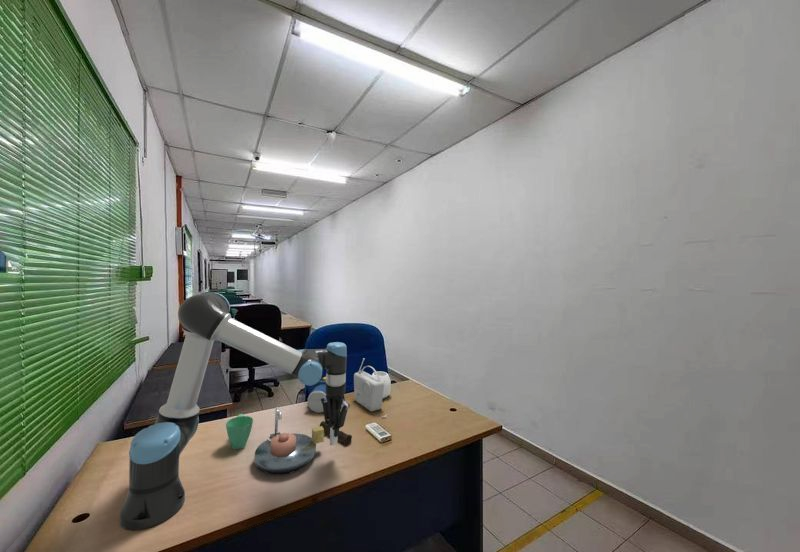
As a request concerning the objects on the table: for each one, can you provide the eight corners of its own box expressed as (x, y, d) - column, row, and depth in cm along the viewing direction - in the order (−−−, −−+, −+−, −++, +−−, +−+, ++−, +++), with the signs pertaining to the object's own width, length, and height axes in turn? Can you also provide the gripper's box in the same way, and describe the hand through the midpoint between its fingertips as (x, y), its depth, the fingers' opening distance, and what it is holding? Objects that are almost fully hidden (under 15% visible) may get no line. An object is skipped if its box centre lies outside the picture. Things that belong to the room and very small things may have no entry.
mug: (252, 449, 125) (253, 425, 125) (224, 455, 121) (225, 429, 121) (252, 432, 139) (252, 409, 138) (226, 436, 134) (227, 413, 134)
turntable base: (282, 481, 108) (282, 475, 108) (249, 463, 117) (249, 458, 117) (320, 455, 123) (320, 450, 123) (288, 441, 132) (289, 437, 132)
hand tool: (352, 443, 133) (352, 432, 133) (345, 447, 130) (345, 436, 130) (324, 428, 145) (325, 418, 145) (317, 431, 142) (317, 421, 142)
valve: (314, 400, 174) (313, 374, 172) (340, 402, 172) (340, 377, 170) (304, 413, 161) (303, 386, 159) (332, 416, 159) (331, 389, 157)
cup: (365, 399, 178) (366, 376, 178) (371, 391, 191) (372, 369, 191) (388, 402, 176) (389, 378, 176) (392, 393, 189) (393, 371, 189)
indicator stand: (270, 436, 135) (271, 405, 135) (279, 434, 138) (280, 404, 137) (274, 447, 127) (275, 414, 127) (284, 445, 130) (285, 412, 129)
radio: (350, 399, 177) (351, 355, 177) (362, 396, 182) (364, 354, 182) (370, 414, 160) (372, 366, 160) (384, 410, 165) (385, 363, 165)
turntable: (281, 480, 105) (282, 459, 105) (241, 458, 116) (242, 439, 116) (331, 447, 125) (331, 429, 125) (293, 431, 137) (293, 415, 136)
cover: (281, 459, 113) (281, 444, 113) (265, 451, 117) (265, 437, 117) (300, 448, 120) (301, 434, 120) (285, 440, 125) (285, 427, 125)
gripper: (355, 384, 121) (352, 444, 121) (329, 377, 128) (327, 434, 128) (342, 390, 115) (339, 453, 115) (316, 382, 121) (314, 442, 122)
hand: (333, 443), depth 121 cm, fingers closed
